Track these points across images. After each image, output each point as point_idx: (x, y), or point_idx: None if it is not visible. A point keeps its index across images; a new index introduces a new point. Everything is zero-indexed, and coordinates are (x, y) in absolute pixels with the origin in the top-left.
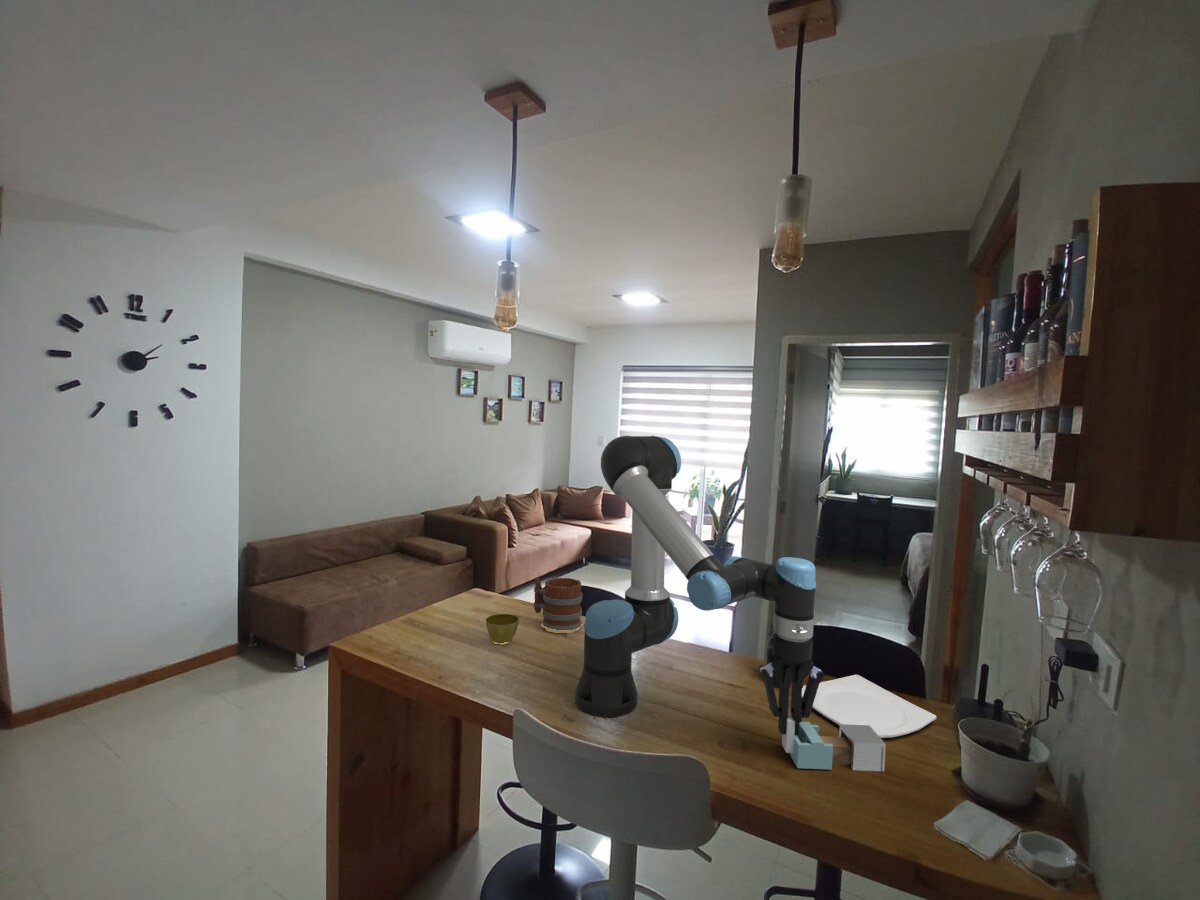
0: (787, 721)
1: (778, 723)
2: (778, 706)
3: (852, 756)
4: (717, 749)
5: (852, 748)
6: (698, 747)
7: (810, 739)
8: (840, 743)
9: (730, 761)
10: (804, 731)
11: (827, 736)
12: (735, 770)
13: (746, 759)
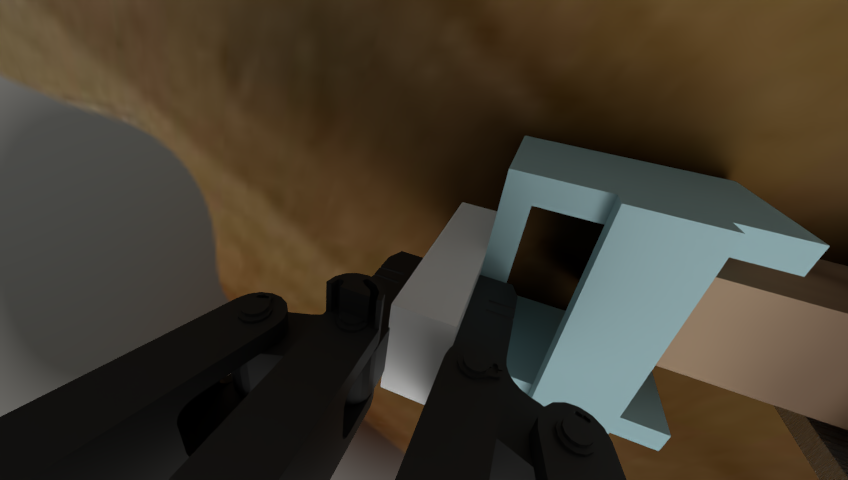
0: (383, 379)
1: (373, 276)
2: (296, 345)
3: (796, 419)
4: (216, 106)
5: (829, 461)
6: (153, 82)
7: (538, 394)
8: (816, 385)
9: (254, 190)
10: (564, 326)
11: (801, 305)
12: (264, 237)
13: (310, 191)
